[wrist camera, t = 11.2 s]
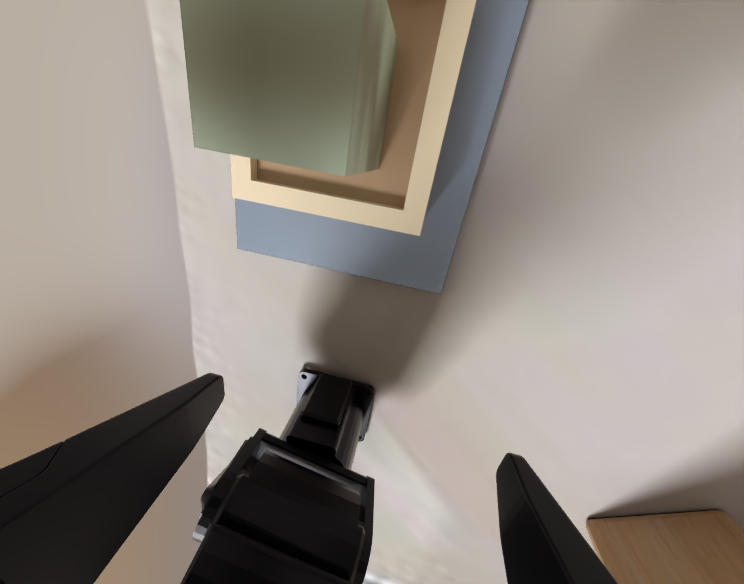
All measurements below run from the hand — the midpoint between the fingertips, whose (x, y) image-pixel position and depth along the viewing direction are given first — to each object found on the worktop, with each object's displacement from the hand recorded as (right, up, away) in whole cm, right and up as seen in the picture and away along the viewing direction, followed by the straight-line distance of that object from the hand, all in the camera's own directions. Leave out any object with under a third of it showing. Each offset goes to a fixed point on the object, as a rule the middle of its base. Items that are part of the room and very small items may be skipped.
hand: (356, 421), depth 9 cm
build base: (0, +14, +7) cm, 16 cm away
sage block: (-1, +12, +4) cm, 13 cm away
